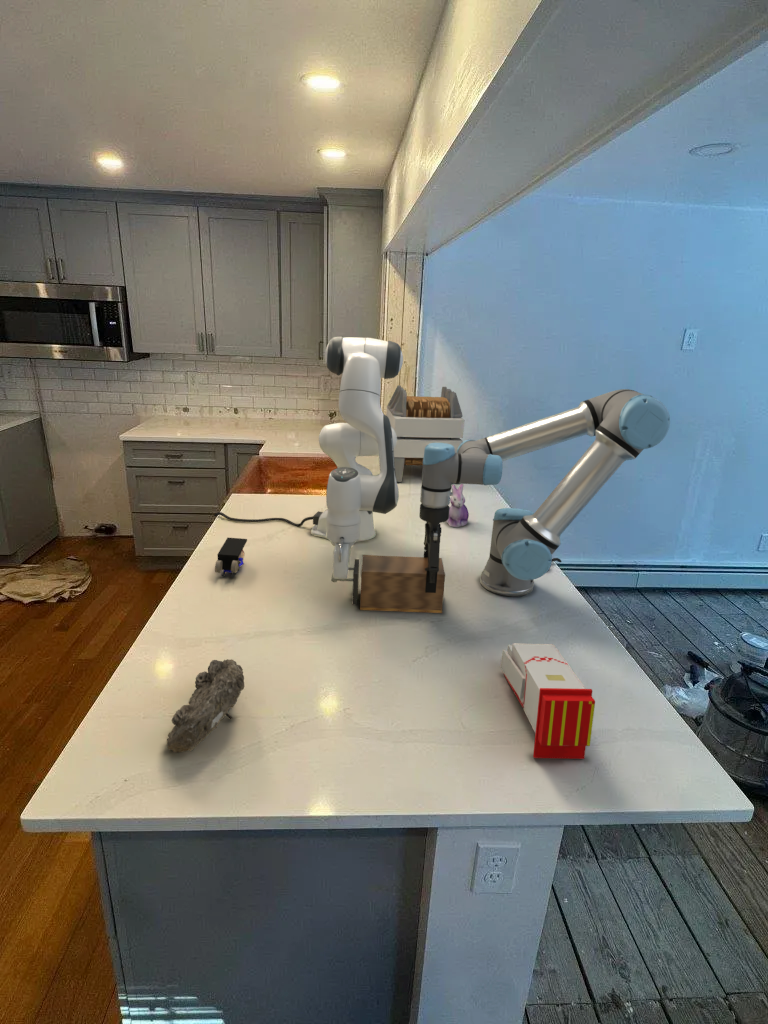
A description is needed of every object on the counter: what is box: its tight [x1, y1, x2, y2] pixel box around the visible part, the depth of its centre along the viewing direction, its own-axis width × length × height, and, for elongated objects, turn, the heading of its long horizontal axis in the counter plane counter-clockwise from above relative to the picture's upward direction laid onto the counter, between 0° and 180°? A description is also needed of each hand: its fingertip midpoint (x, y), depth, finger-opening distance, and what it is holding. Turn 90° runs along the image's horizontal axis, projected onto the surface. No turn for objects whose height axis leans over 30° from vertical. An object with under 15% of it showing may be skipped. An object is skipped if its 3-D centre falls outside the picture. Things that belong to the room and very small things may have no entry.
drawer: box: [330, 558, 360, 606], centre depth 152 cm, size 26×9×9 cm, turn 90°
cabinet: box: [359, 554, 446, 614], centre depth 152 cm, size 22×10×11 cm, turn 90°
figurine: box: [446, 483, 470, 528], centre depth 210 cm, size 9×10×15 cm
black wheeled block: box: [214, 537, 248, 578], centre depth 166 cm, size 7×8×15 cm
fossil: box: [166, 658, 245, 754], centre depth 106 cm, size 22×10×15 cm
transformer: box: [385, 384, 465, 483], centre depth 268 cm, size 34×33×41 cm
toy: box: [499, 642, 596, 760], centre depth 113 cm, size 12×13×30 cm
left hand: (342, 578), depth 151 cm, fingers closed
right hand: (428, 582), depth 152 cm, fingers closed on cabinet, 10 cm apart
